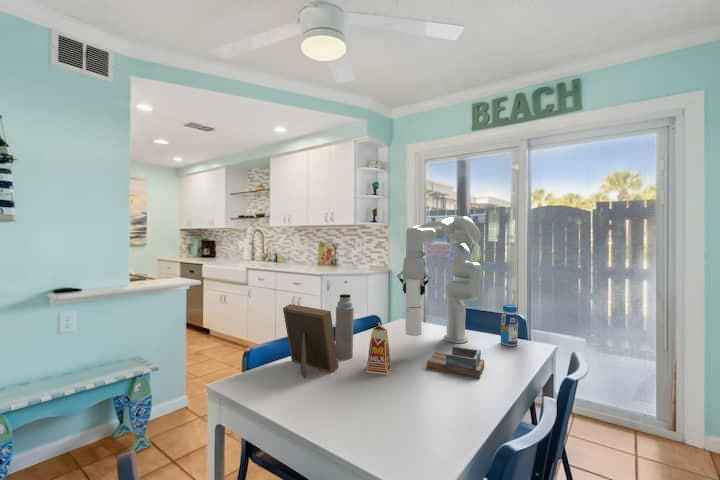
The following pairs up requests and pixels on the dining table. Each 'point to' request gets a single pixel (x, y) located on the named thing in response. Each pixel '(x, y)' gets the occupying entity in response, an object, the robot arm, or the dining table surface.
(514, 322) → the beverage bottle
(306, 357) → the photo frame
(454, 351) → the dock
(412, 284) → the cylindrical container
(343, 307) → the thermos bottle
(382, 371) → the milk carton
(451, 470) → the dining table surface
